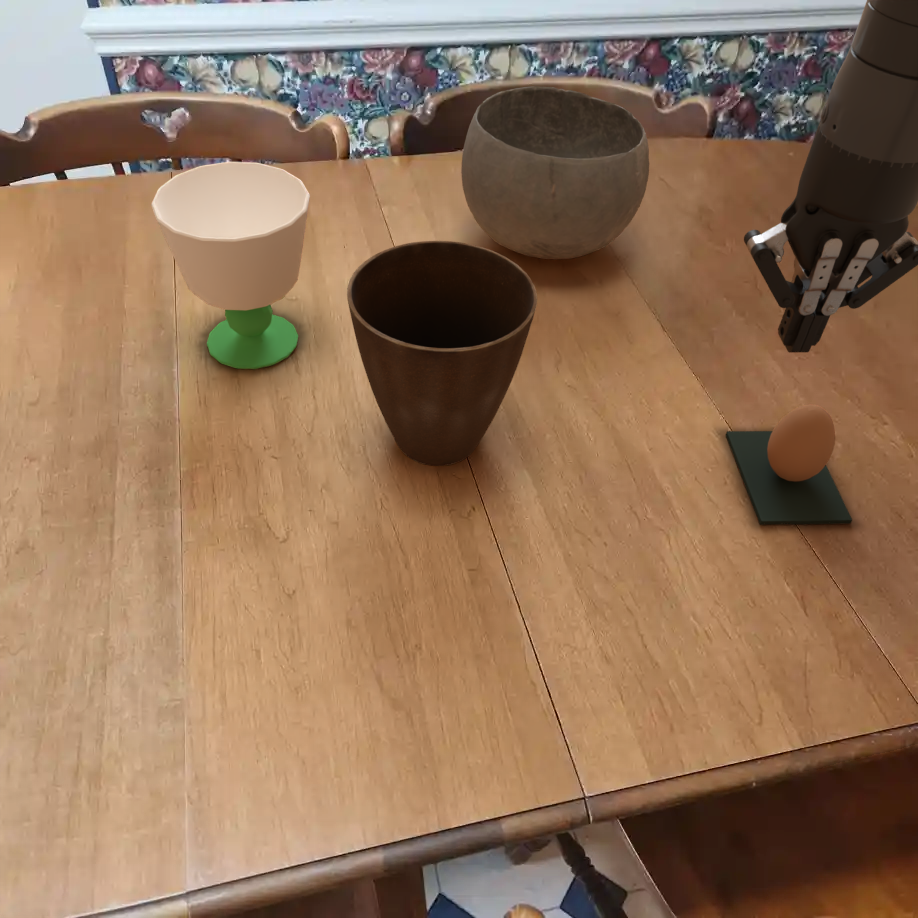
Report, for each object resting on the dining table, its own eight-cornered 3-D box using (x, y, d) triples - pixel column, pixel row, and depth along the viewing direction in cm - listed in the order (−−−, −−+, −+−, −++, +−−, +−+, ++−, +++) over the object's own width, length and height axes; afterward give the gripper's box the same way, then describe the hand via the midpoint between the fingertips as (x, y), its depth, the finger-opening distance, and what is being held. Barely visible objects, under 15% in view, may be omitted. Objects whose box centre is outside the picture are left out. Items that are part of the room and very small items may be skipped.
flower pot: (347, 390, 85) (338, 244, 73) (499, 377, 87) (513, 234, 76) (364, 506, 75) (357, 358, 63) (535, 487, 77) (558, 341, 66)
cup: (328, 377, 86) (317, 234, 75) (182, 392, 83) (148, 246, 72) (315, 295, 95) (303, 157, 84) (183, 306, 93) (153, 165, 81)
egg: (798, 505, 76) (830, 439, 71) (746, 473, 79) (773, 407, 73) (827, 475, 79) (860, 410, 73) (776, 445, 81) (804, 380, 76)
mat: (850, 523, 76) (852, 520, 75) (759, 525, 75) (761, 521, 75) (808, 434, 83) (809, 430, 83) (725, 434, 83) (726, 431, 82)
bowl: (640, 296, 98) (669, 170, 87) (455, 286, 97) (462, 158, 87) (620, 202, 112) (644, 83, 102) (459, 193, 112) (465, 73, 101)
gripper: (799, 156, 53) (723, 377, 65) (1010, 160, 54) (896, 377, 66) (762, 101, 58) (698, 316, 70) (955, 106, 59) (858, 317, 71)
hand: (794, 345), depth 68 cm, fingers closed
